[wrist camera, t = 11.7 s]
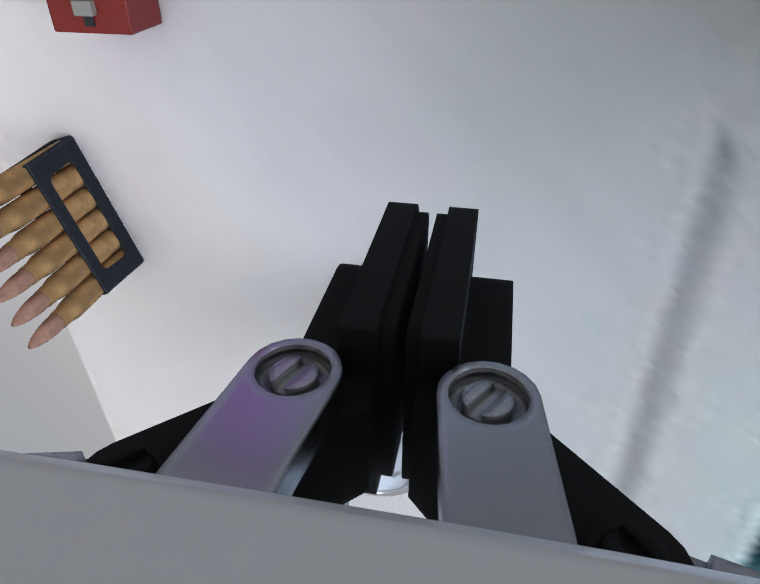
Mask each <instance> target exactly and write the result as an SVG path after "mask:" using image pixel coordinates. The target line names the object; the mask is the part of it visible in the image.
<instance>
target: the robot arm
mask: <svg viewBox="0 0 760 584" xmlns="http://www.w3.org/2000/svg"><path fill="white" fill-rule="evenodd" d="M478 210H479V209H469V208H457V207H449V211H448V214H437V216H436V220H435V224H434V228H433V232H432V235H431V239H430V243H429V247H428V228H429V213H425V212H419V206H418V204H409V203H397V202H389V203H388V205H387V208H386V210H385V212H384V215H383V217H382V220H381V222H380V224H379V227H378V229H377V232H376V234H375V236H374V239H373V241H372V243H371V246H370V248H369V251H368V253H367V255H366V258H365V260H364V263H363V265H362V266H361V265H351V264H340V265H339V266H338V268H337V269H336V271H335V273H334V276H333V278H332V280H331V282H330V284H329V286H328V288H327V290H326V292H325V294H324V296H323V298H322V300H321V303H320V305H319V307H318V309H317V311H316V313H315V315H314V317H313V319H312V321H311V323H310V325H309V328H308V330H307V332H306V334H305V336H304V338H303V339H302V338H297V339H285V340H282V341H278V342H275V343H271V344H269V345H268V346H266V347H264V348H262V349H260V350H259V351H257V352H256V353H255V354H254V355H253V356H252V357H251V358H250V359H249V360H248V361H247V362H246V364H245V365H244V366H243V367H242V369H241V370H240V371H239V372H238V373H237V375H236V376H235V377H234V378H233V380H232V381H231V382H230V383H229V384H228V386H227V387H226V388H225V389H224V391H223V392H222V393H221V394H220V395H219V397H218V398H217V399H216V400H215V401H213V402H211V403H208V404H206V405H203V406H201V407H199V408H196V409H194V410H191V411H189V412H187V413H184V414H182V415H179V416H177V417H175V418H172V419H170V420H167V421H165V422H163V423H160V424H158V425H155V426H153V427H151V428H148V429H146V430H143V431H141V432H139V433H136V434H134V435H131V436H129V437H127V438H124V439H122V440H119V441H117V442H115V443H112V444H110V445H109V446H107V447H105V448H103V449H101V450H99V451H97V452H96V453H95V454H93V455H92V456H91V457H90V458H89V459H85V457H84V454H83V452H82V451H77V452H76V451H75V452H49V453H25V454H24V453H16V452H10V451H2V450H0V584H760V572H759V571H756V570H753V569H750V568H748V567H745V566H742V565H739V564H736V563H733V562H731V561H728V560H725V559H722V558H719V557H716V556H714V555H711V556H710V558H709V560H708V562H704V561H701V560H699V559H696V558H693V557H690V556H689V555H688V553H687V551H686V550H685V548H684V547H683V546H682V545H681V544H680V543H679V542H678V541H677V540H676V539H675V538H674V537H673V536H672V535H671V534H670V533H669V532H668V531H667V530H666V529H665V528H663V527H662V526H661V525H660V524H659V523H657V522H656V521H655V520H654V519H653V518H651V517H650V516H649V515H648V514H647V513H645V512H644V511H643V510H642V509H641V508H639V507H638V506H637V505H636V504H635V503H633V502H632V501H631V500H630V499H629V498H627V497H626V496H625V495H624V494H623V493H621V492H620V491H619V490H618V489H617V488H615V487H614V486H613V485H612V484H611V483H609V482H608V481H607V480H606V479H605V478H603V477H602V476H601V475H600V474H599V473H597V472H596V471H595V470H594V469H593V468H591V467H590V466H589V465H588V464H587V463H585V462H584V461H583V460H582V459H581V458H579V457H578V456H577V455H576V454H575V453H573V452H572V451H571V450H570V449H569V448H567V447H566V446H565V445H564V444H563V443H561V442H560V441H559V440H558V439H557V438H555V437H554V436H553V435H552V434H551V433H550V431H549V427H548V423H547V419H546V415H545V411H544V407H543V403H542V399H541V395H540V393H539V391H538V389H537V387H536V385H535V384H534V383H533V382H532V381H531V380H530V379H529V378H528V377H527V376H526V375H525V374H523V373H521V372H520V371H518V370H516V369H515V368H513V367H511V352H512V315H513V281H509V280H499V279H489V278H479V277H472V273H473V262H474V252H475V242H476V232H477V222H478ZM427 249H428V251H427ZM402 432H403V436H402ZM401 436H402V479H409V490H408V497H409V498H410V500H411V501H412V502H413V503H414V504H415V505H416V507H417V508H418V509H419V510H420V511H421V513H422V514H423V515H424V516H425V517H426V518H427V519H424V518H418V517H412V516H406V515H401V514H395V513H389V512H383V511H377V510H371V509H365V508H359V507H353V506H349V501H350V500H352V499H354V498H356V497H358V496H359V495H361V494H363V493H369V494H375V495H377V491H378V487H379V482H380V478H381V475H383V476H390V477H392V475H393V472H394V468H395V463H396V459H397V454H398V450H399V445H400V441H401Z"/></svg>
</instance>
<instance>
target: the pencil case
mask: <svg viewBox="0 0 760 584" xmlns="http://www.w3.org/2000/svg"><path fill="white" fill-rule="evenodd" d="M46 1H47V5H48V8H49V12H50V15H51V19H52V22H53V26H54V29H55V31H56V32H77V33H101V34H125V35H133V34H136V33H138V32H141V31H143V30H146V29H148V28H151V27H153V26H156V25H158V24H161V23H162V21H161V16H160V11H159V5H158V0H46Z"/></svg>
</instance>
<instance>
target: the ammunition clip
mask: <svg viewBox="0 0 760 584" xmlns="http://www.w3.org/2000/svg"><path fill="white" fill-rule="evenodd" d="M55 173H56V174H55ZM35 185H37V186H35ZM33 186H35V187H34V188H32V187H33ZM19 195H21V196H20V197H18V198H16V199H15V200H13V201H12V202H10V203H9V204H7V205H6V206H4V207H2V208H1V209H0V238H2V237H4V236H5V235H7V234H8V233H11V232H14V231H16V230H18V229H20V228H22V227H24V226H25V225H27V224H28V223H30V222H31V221H32V220H34V219H35V218H36V219H35V220H34V221H33V222H31V223H30V224H28V225H27V226H25V227H24V228H23V229H21V230H20V231H18V232H17V233H16V234H15V235H14V236H13V238H12V239H11V240H10V241H9V242H7V243H6V244H5V245H4V246H2V248H1V249H0V272H2V271H4V270H6V269H7V268H9V267H10V266H12V265H13V264H15V263H16V262H18V261H20V260H21V259H23V258H24V257H25V256H28V255H30V254H32V253H34V252H36V251H38V250H39V249H40V250H39V251H38V252H36V253H35V254H34V255H33V256H32V257H31V258H30V259H29V260H28V262H27V263H26V264H25V265H24V266H23V267H21V268H20V269H19V270H18V271H17V272H16V273H15V274H14V275H13V276H11V277H10V278H9V279H8V280H7V281H6V282H5V283H4V284H3V286H2V287H1V288H0V303H2V302H5V301H7V300H9V299H12V298H14V297H16V296H17V295H19V294H21V293H22V292H24V291H25V290H27V289H28V288H29V287H31V286H32V285H34V284H35V283H37V282H38V281H39V280H41V279H42V278H44V277H46V276H48V275H50V274H52V273H53V272H54V271H55V270H56V271H55V272H54V273H53V274H52V275H51V276H49V277H48V278H47V279H46V281H45V282H44V284H43V285H42V286H41V287H40V288H39V289H38V290H37V291H36V292H35V293H34V294H33V295H32V296H31V297H30V298H29V299H28V300H27V301H26V302H25V303H24V304H23V305H22V306H21V307H20V309H19V310H18V312H17V313H16V314H15V316H14V318H13V320H12V323H11V326H12V327H15V326H19V325H22V324H24V323H26V322H28V321H30V320H32V319H33V318H35V317H36V316H38V315H39V314H41V313H42V312H43V311H44V310H46V308H48V307H50V306H51V305H52V304H53V303H55V302H56V301H57V300H59V299H61V298H63V297H64V296H66V295H67V294H68V293H69V294H68V295H67V296H66V297H64V298H63V299H62V301H61V302H60V303H59V305H58V306H57V308H56V309H55V310H54V311H53V312H52V313H51V314H50V315H49V317H48V318H47V319H46V320H45V321H44V322H43V323H42V324H41V325H40V326H39V327H38V329H37V330H36V331H35V333H34V334H33V336H32V337H31V339H30V341H29V344H28V348H29V349H33V348H36V347H38V346H40V345H42V344H44V343H46V342H47V341H49V340H50V339H52V338H53V337H54V336H55V335H57V334H58V333H59V332H60V331H61V330H62V329H63V328H65V327H66V326H67V325H68V324H70V323H71V322H72V321H74V320H75V319H77V318H79V317H80V316H81V315H82V314H83V313H84V312H85V311H86V310H87V309H88V308H89V307H90V306H91V305H93V304H94V303H95V302H96V301H97V300H98V299H99V298H100V297H101V296H102V295H105V294H108V293H109V292H110V291H111V290H112V289H113V288H114V287H115V286H117V285H118V284H119V283H120V282H121V281H122V280H123V279H124V278H126V277H127V276H128V275H129V274H130V273H131V272H132V271H134V270H135V269H136V268H137V267H138V266H139V265H140V264H142V263H143V261H144V260H143V258H142V257H141V255H140V253H139V251H138V250H137V248H136V246H135V244H134V243H133V241H132V239H131V238H130V236H129V234H128V232H127V231H126V229H125V227H124V225H123V224H122V222H121V220H120V218H119V217H118V215H117V213H116V211H115V210H114V208H113V206H112V205H111V203H110V201H109V199H108V198H107V196H106V194H105V192H104V191H103V189H102V187H101V185H100V184H99V182H98V180H97V178H96V177H95V175H94V173H93V172H92V170H91V168H90V166H89V165H88V163H87V161H86V159H85V158H84V156H83V154H82V152H81V151H80V149H79V147H78V145H77V144H76V142H75V140H74V139H73V137H71V136H65V137H62V138H59V139H55V140H52V141H50V142H48V143H47V144H45V145H44V146H42V147H41V148H39V149H38V150H36V151H35V152H33V153H32V154H30V155H29V156H27V157H26V158H24V159H23V160H21V161H20V162H18V163H17V164H15V165H14V166H12V167H10V168H9V169H7V170H6V171H5V172H3V173H1V174H0V206H2V205H4V204H6V203H7V202H9V201H11V200H12V199H14V198H15V197H17V196H19ZM63 199H64V200H63ZM50 208H51V209H50ZM47 210H48V211H47ZM47 243H48V244H47ZM46 244H47V245H46ZM43 246H44V247H43ZM42 247H43V248H42ZM77 252H78V253H77ZM76 253H77V254H76ZM64 263H65V264H64ZM63 264H64V265H63ZM60 266H61V267H60ZM59 267H60V268H59ZM58 268H59V269H58ZM57 269H58V270H57ZM78 284H79V285H78Z"/></svg>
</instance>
